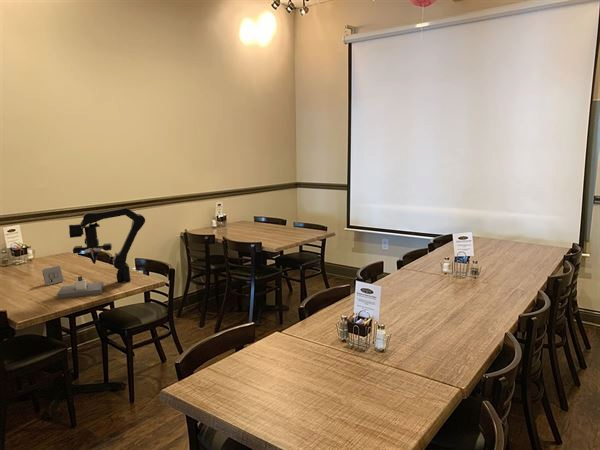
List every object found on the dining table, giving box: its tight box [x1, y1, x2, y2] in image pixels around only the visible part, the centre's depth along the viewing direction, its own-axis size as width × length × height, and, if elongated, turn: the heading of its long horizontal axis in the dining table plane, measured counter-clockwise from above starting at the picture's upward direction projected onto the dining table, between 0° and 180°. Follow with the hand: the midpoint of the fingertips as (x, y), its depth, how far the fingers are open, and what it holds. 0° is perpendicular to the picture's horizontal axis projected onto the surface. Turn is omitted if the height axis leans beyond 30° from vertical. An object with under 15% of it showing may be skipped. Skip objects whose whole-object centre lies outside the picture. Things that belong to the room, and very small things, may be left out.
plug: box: [74, 275, 87, 290], centre depth 233 cm, size 4×4×8 cm
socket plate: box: [56, 281, 105, 300], centre depth 234 cm, size 20×13×2 cm, turn 107°
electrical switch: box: [41, 265, 65, 286], centre depth 251 cm, size 9×5×9 cm, turn 141°
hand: (94, 263), depth 244 cm, fingers closed
